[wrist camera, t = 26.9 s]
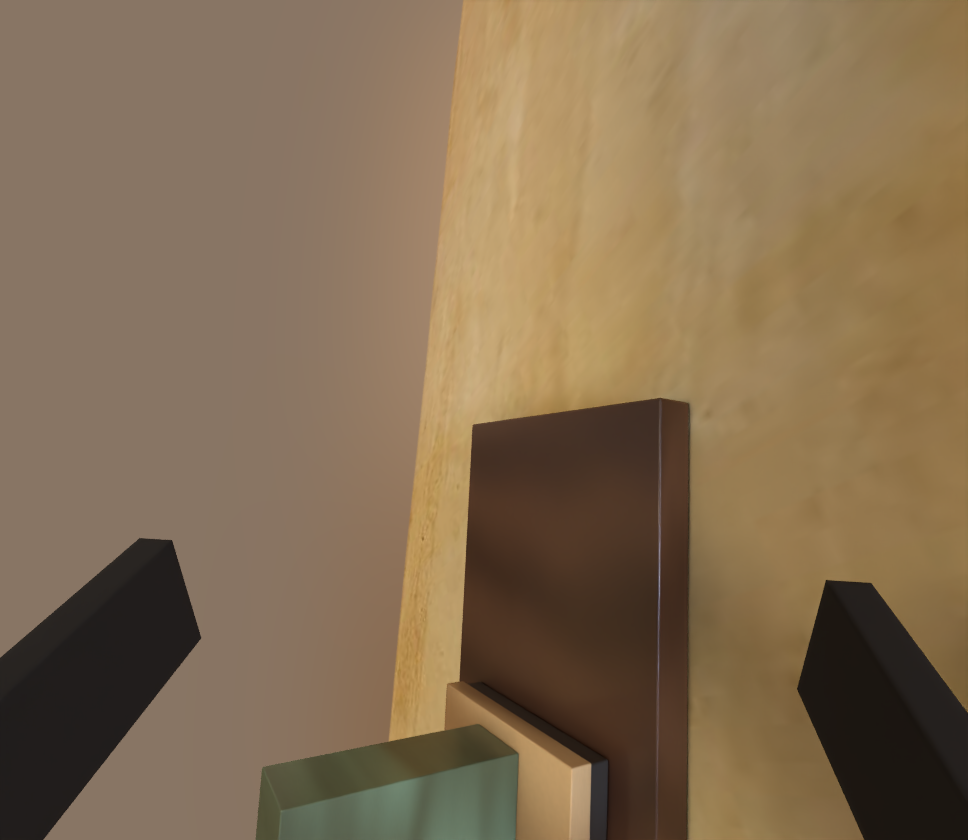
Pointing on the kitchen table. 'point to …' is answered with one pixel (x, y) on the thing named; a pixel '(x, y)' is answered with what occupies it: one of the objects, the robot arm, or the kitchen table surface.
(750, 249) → the kitchen table surface
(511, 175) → the kitchen table surface
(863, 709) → the robot arm
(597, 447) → the walnut board
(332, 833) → the green block on base
